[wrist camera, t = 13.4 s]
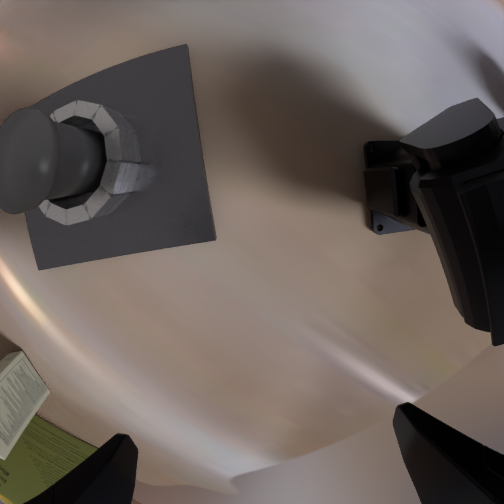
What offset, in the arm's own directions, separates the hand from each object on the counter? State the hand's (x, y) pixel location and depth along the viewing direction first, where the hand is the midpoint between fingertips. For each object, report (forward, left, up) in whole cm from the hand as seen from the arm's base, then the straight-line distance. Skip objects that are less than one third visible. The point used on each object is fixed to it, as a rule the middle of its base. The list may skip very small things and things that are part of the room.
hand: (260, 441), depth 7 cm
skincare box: (+28, +8, -13) cm, 32 cm away
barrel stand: (+10, -11, -13) cm, 20 cm away
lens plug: (+10, -11, -12) cm, 19 cm away
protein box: (+32, +22, -13) cm, 41 cm away
